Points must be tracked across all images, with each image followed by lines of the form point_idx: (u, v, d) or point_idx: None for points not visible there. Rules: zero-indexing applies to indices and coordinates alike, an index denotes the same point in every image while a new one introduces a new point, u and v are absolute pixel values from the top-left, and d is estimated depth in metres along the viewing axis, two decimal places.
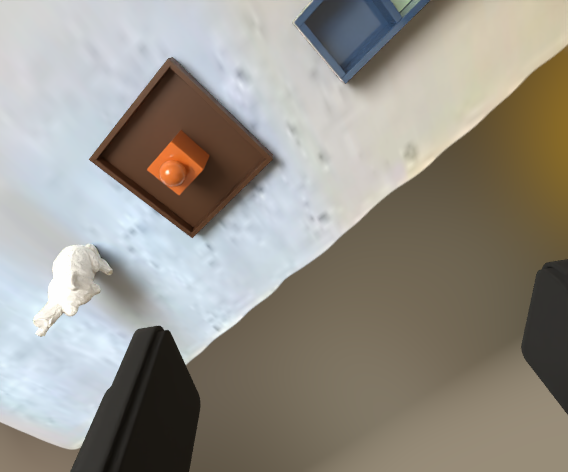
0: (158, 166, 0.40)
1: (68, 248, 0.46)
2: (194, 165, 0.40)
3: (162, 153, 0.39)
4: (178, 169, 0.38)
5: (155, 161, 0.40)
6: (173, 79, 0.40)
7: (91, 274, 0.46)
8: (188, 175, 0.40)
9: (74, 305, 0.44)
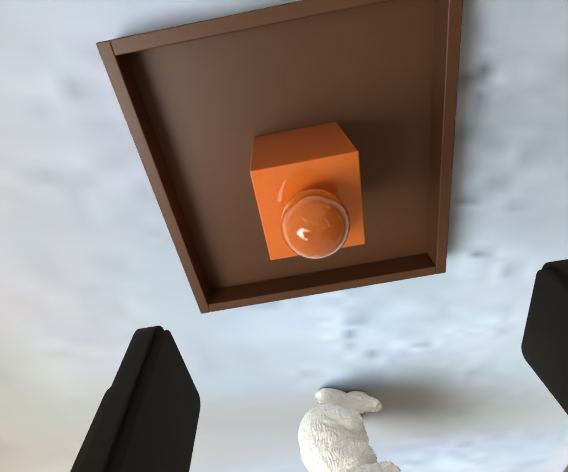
0: (280, 235, 0.16)
1: (302, 433, 0.26)
2: (334, 164, 0.15)
3: (261, 208, 0.15)
4: (316, 207, 0.13)
5: (267, 233, 0.16)
6: (153, 71, 0.17)
7: (363, 449, 0.25)
8: (343, 193, 0.15)
9: None
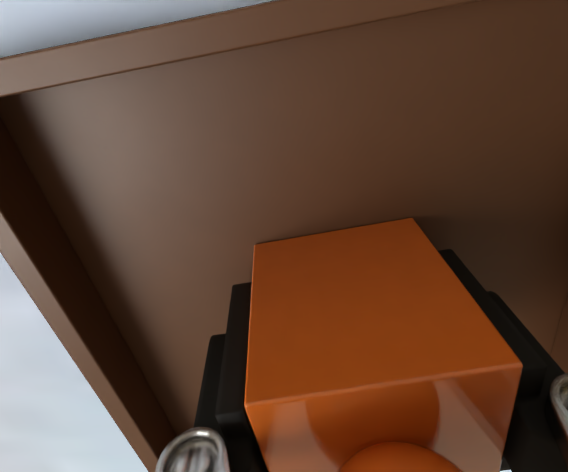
0: None
1: None
2: (456, 389, 0.06)
3: (272, 462, 0.07)
4: None
5: None
6: (51, 132, 0.08)
7: None
8: (467, 435, 0.06)
9: None
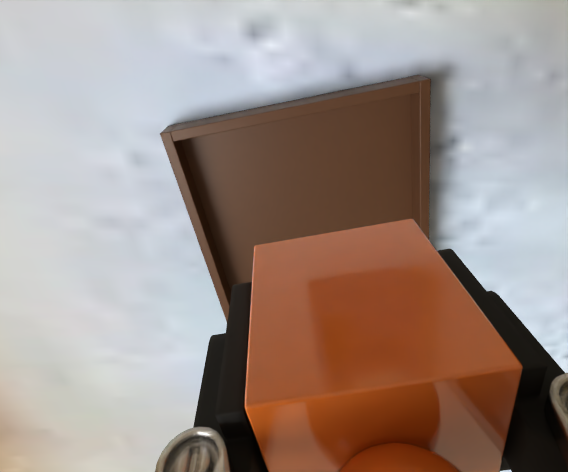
0: None
1: None
2: (456, 391, 0.06)
3: (272, 463, 0.07)
4: None
5: None
6: (198, 147, 0.23)
7: None
8: (467, 436, 0.06)
9: None
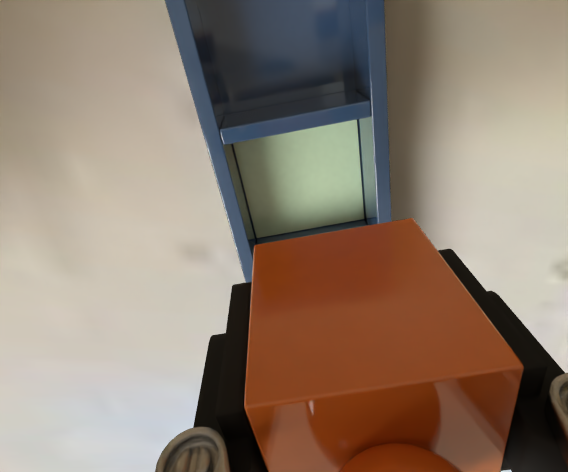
0: None
1: None
2: (457, 391, 0.06)
3: (272, 464, 0.07)
4: None
5: None
6: None
7: None
8: (468, 437, 0.06)
9: None
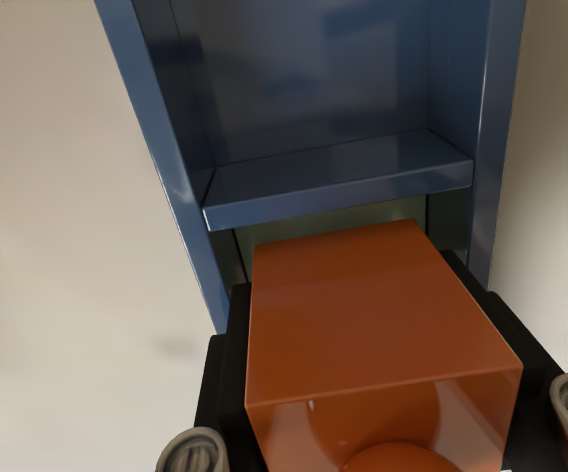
0: None
1: None
2: (457, 390, 0.06)
3: (272, 463, 0.07)
4: None
5: None
6: None
7: None
8: (467, 435, 0.06)
9: None
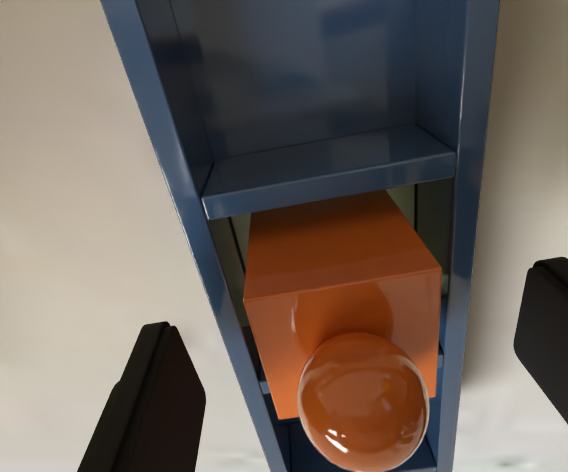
0: (296, 389, 0.10)
1: None
2: (396, 288, 0.08)
3: (264, 353, 0.09)
4: (371, 396, 0.07)
5: (273, 386, 0.10)
6: None
7: None
8: (408, 330, 0.09)
9: None
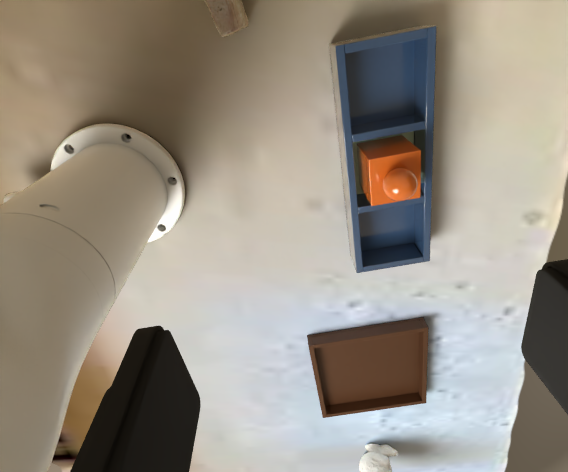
0: (378, 192, 0.32)
1: (361, 466, 0.58)
2: (409, 156, 0.31)
3: (371, 178, 0.32)
4: (403, 175, 0.29)
5: (372, 191, 0.32)
6: None
7: None
8: (412, 170, 0.31)
9: None
